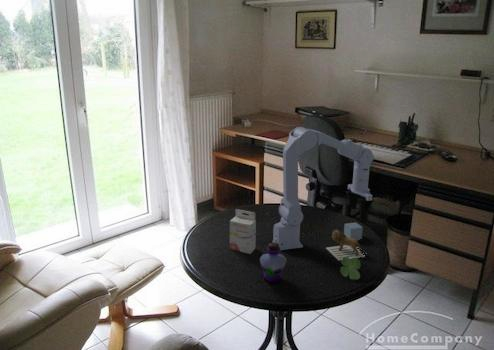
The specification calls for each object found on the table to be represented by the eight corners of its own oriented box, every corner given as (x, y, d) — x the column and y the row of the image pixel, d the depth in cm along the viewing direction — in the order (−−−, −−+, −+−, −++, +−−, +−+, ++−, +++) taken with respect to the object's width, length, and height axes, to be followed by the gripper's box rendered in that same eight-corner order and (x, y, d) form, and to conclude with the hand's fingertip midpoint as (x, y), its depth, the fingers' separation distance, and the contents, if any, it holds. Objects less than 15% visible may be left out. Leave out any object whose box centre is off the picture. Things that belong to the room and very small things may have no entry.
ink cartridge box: (229, 250, 150) (228, 212, 146) (235, 244, 154) (235, 208, 150) (250, 254, 146) (250, 216, 142) (256, 249, 150) (256, 211, 146)
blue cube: (350, 242, 157) (351, 228, 155) (343, 236, 161) (344, 223, 160) (361, 240, 158) (362, 227, 157) (354, 235, 163) (356, 222, 161)
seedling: (343, 284, 136) (348, 284, 130) (331, 262, 138) (335, 262, 131) (361, 274, 137) (367, 273, 131) (349, 252, 139) (354, 251, 132)
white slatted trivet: (338, 260, 142) (338, 259, 142) (325, 248, 151) (325, 247, 151) (369, 256, 145) (369, 255, 145) (354, 244, 155) (354, 243, 155)
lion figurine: (329, 249, 150) (330, 231, 147) (333, 245, 153) (334, 227, 151) (362, 257, 144) (363, 238, 142) (365, 252, 147) (366, 234, 145)
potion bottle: (260, 285, 126) (260, 250, 123) (258, 271, 135) (258, 238, 131) (288, 285, 127) (289, 250, 124) (284, 271, 135) (285, 237, 132)
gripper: (381, 183, 149) (377, 218, 153) (360, 172, 162) (357, 204, 166) (363, 184, 147) (360, 219, 151) (344, 174, 160) (341, 206, 164)
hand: (357, 212), depth 158 cm, fingers open, 7 cm apart
